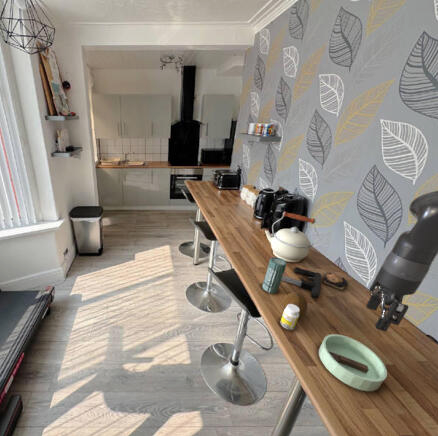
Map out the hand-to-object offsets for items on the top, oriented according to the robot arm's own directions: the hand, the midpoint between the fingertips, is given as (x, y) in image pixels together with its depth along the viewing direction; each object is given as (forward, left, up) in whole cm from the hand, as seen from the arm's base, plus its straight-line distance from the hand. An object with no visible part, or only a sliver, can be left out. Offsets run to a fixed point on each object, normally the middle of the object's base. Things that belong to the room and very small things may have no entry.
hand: (375, 318), depth 66 cm
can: (+24, -27, -20) cm, 41 cm away
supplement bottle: (+17, -8, -20) cm, 28 cm away
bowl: (0, 0, -20) cm, 20 cm away
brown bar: (0, 0, -20) cm, 20 cm away
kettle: (+19, -64, -20) cm, 70 cm away
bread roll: (-3, -49, -20) cm, 53 cm away
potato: (+15, -17, -20) cm, 30 cm away
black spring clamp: (+11, -40, -20) cm, 46 cm away
